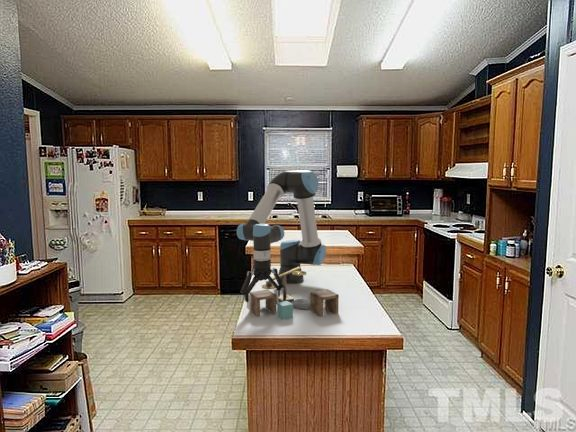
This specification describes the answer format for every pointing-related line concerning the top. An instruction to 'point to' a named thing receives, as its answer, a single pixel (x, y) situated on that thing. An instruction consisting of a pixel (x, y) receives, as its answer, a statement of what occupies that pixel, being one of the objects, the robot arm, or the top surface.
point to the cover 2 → (318, 298)
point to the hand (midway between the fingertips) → (262, 306)
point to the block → (285, 310)
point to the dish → (301, 304)
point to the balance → (284, 296)
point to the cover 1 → (262, 295)
